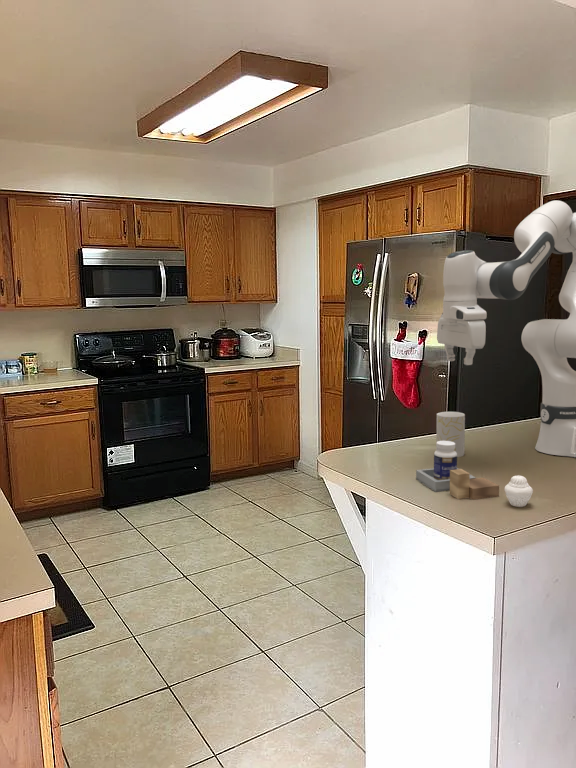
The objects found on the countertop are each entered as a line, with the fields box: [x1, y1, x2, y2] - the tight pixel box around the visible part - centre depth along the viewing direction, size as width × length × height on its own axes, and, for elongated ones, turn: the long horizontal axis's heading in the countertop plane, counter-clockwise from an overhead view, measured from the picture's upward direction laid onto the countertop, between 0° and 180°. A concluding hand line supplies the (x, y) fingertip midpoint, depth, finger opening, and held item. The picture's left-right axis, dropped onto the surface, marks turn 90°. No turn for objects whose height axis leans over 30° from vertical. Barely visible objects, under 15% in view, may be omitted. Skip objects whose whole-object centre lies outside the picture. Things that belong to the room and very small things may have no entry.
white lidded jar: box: [504, 474, 534, 508], centre depth 148 cm, size 6×6×7 cm
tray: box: [415, 467, 477, 493], centre depth 165 cm, size 11×11×2 cm
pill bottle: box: [433, 441, 458, 481], centre depth 165 cm, size 6×6×10 cm
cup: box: [435, 411, 466, 458], centre depth 192 cm, size 8×8×12 cm
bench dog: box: [449, 468, 471, 500], centre depth 155 cm, size 3×4×6 cm
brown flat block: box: [468, 477, 500, 501], centre depth 156 cm, size 7×7×3 cm
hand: (459, 362), depth 176 cm, fingers open, 8 cm apart
